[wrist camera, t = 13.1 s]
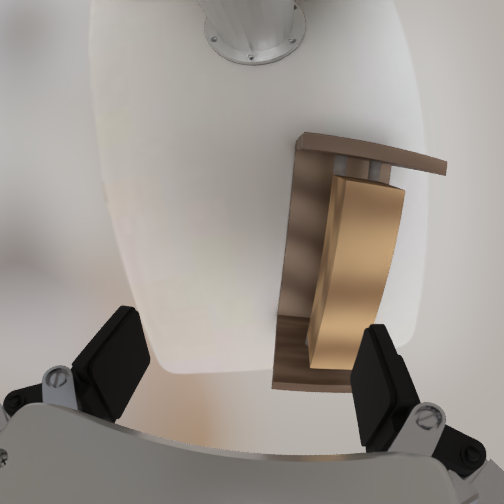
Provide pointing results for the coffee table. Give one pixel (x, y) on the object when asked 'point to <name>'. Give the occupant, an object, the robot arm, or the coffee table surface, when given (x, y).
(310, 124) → the coffee table surface
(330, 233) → the shelf board
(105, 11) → the coffee table surface
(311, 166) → the shelf frame
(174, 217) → the coffee table surface
